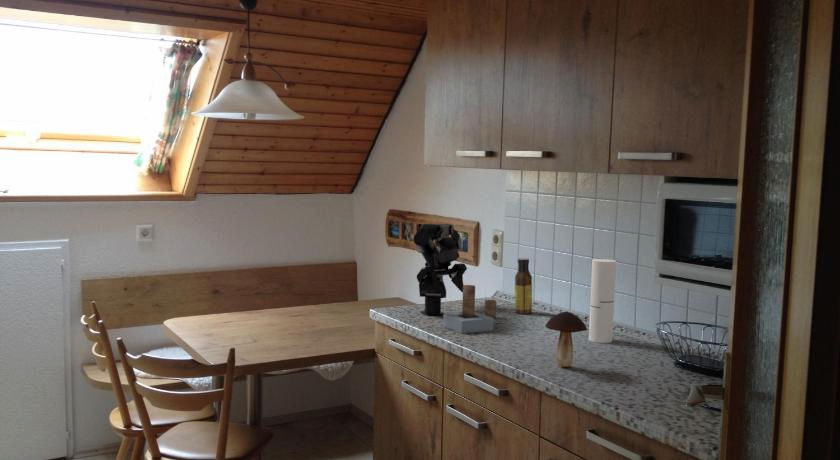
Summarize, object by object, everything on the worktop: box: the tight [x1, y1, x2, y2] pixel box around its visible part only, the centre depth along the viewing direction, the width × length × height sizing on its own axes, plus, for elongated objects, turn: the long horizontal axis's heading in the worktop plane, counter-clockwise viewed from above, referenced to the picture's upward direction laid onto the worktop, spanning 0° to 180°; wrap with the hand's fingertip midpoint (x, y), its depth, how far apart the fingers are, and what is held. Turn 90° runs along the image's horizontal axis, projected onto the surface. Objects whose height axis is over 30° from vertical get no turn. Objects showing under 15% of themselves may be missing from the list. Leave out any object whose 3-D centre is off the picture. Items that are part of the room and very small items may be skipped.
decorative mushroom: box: [545, 311, 588, 368], centre depth 203 cm, size 11×11×15 cm
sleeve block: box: [442, 311, 495, 334], centre depth 249 cm, size 12×12×4 cm
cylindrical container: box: [588, 258, 617, 344], centre depth 235 cm, size 7×7×25 cm
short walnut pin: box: [483, 299, 497, 319], centre depth 267 cm, size 4×4×6 cm
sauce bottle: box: [514, 257, 533, 315], centre depth 276 cm, size 7×6×20 cm
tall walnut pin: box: [461, 284, 476, 319], centre depth 249 cm, size 4×4×14 cm
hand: (453, 292), depth 254 cm, fingers open, 9 cm apart
